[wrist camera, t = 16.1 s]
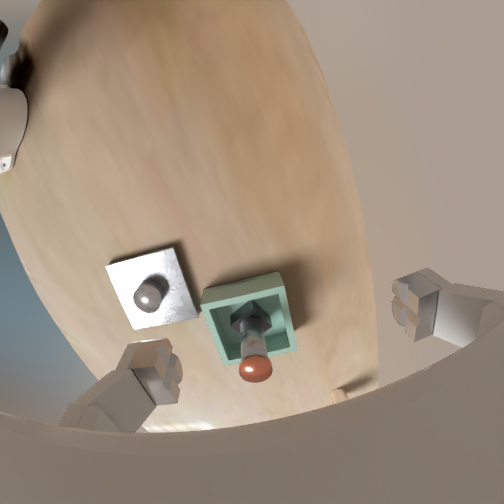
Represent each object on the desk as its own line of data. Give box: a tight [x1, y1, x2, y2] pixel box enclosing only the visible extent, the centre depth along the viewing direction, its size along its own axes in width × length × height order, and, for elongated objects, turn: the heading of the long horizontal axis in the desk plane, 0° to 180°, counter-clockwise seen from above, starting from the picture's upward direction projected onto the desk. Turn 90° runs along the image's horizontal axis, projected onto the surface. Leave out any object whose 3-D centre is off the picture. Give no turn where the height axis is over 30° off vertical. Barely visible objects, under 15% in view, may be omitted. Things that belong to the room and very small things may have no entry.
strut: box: [230, 300, 272, 383], centre depth 37 cm, size 4×4×13 cm
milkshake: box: [330, 388, 349, 404], centre depth 48 cm, size 5×5×10 cm
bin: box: [200, 271, 297, 366], centre depth 42 cm, size 12×12×5 cm
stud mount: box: [106, 245, 199, 329], centre depth 40 cm, size 12×12×4 cm
